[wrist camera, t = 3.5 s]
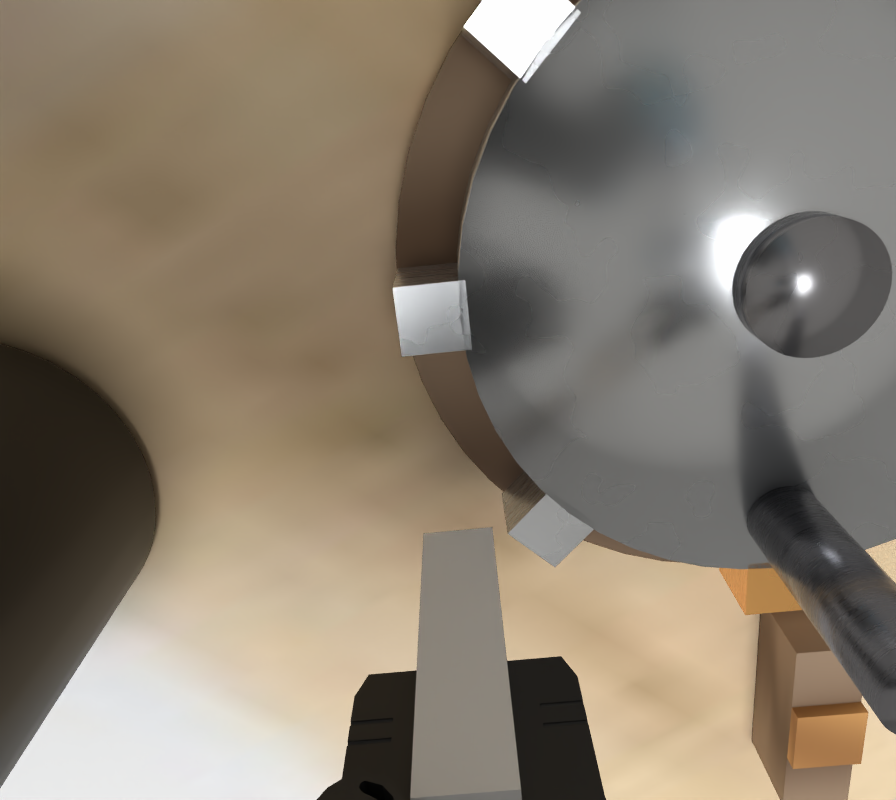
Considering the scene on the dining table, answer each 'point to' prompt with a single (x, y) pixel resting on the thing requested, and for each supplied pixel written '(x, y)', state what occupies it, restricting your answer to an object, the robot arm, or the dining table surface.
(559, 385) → the sprocket
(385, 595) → the dining table surface
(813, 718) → the rail
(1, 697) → the mug
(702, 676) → the dining table surface
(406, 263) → the sprocket base
